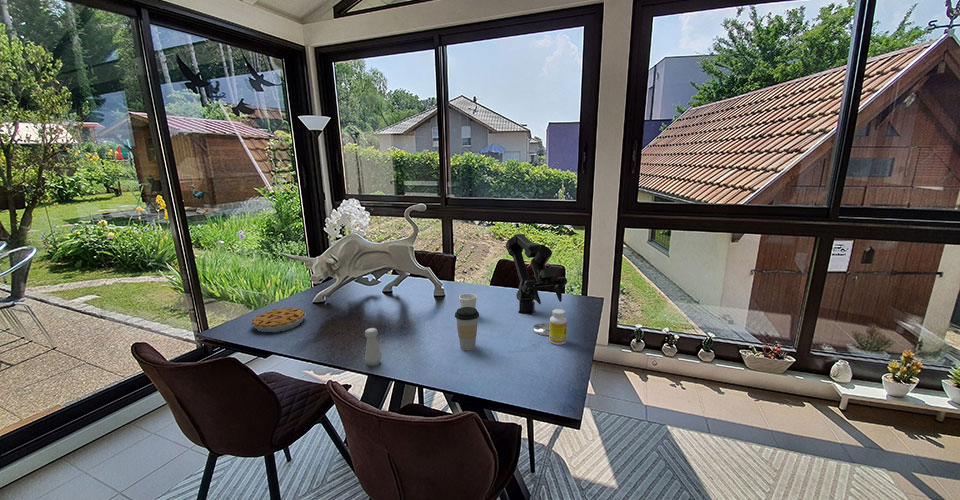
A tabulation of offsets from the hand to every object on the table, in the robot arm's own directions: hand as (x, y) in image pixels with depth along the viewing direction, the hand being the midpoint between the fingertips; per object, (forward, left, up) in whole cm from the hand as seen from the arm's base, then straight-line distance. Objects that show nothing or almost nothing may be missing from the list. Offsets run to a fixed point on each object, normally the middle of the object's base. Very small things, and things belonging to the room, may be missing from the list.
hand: (550, 302), depth 159 cm
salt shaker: (-54, -46, -13) cm, 73 cm away
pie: (-117, -30, -14) cm, 122 cm away
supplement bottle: (+5, -7, -13) cm, 16 cm away
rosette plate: (-2, +2, -13) cm, 14 cm away
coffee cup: (-27, -23, -13) cm, 38 cm away
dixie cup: (-39, +6, -13) cm, 42 cm away
